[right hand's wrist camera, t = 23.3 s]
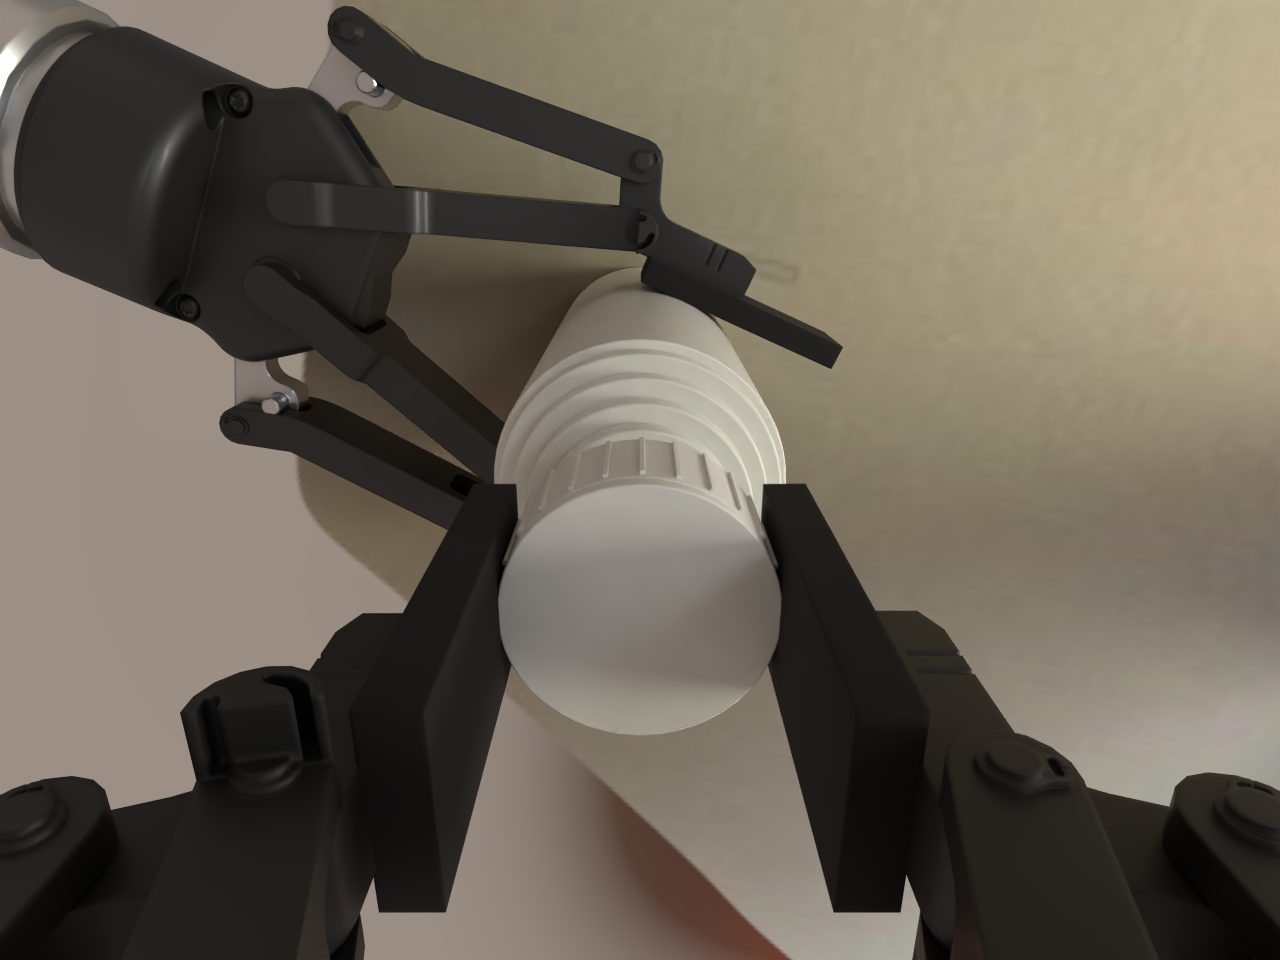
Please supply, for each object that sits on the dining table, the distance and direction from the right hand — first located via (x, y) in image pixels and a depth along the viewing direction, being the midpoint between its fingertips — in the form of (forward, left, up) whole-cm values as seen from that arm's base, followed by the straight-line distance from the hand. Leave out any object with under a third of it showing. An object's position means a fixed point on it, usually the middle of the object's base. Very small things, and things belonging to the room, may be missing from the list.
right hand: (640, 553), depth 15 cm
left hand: (-2, +5, -13) cm, 14 cm away
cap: (0, 0, +2) cm, 2 cm away
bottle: (0, 0, -19) cm, 19 cm away
